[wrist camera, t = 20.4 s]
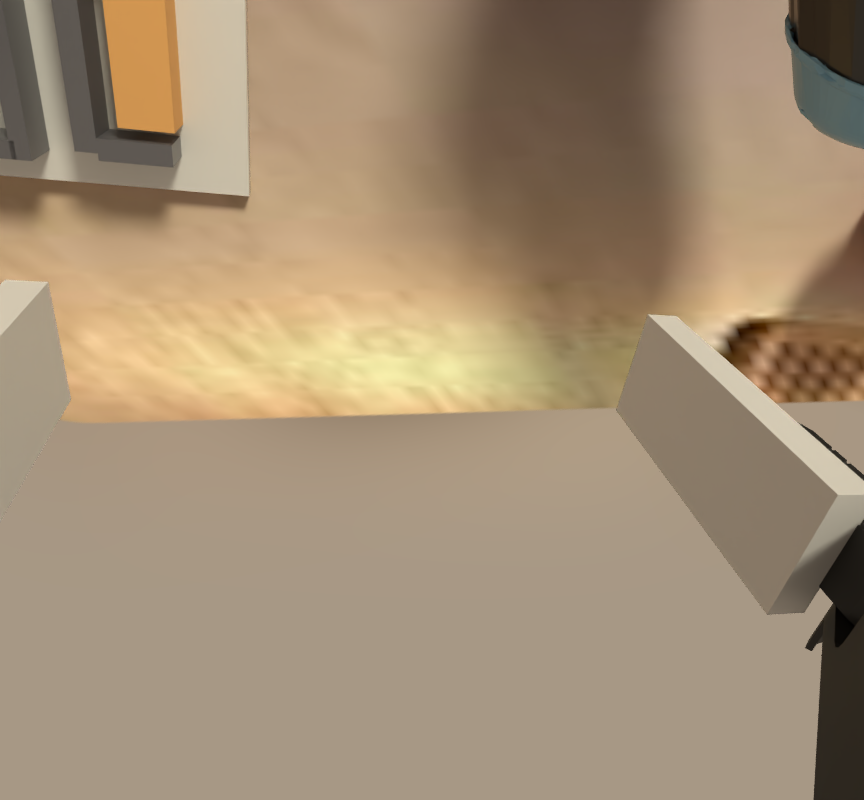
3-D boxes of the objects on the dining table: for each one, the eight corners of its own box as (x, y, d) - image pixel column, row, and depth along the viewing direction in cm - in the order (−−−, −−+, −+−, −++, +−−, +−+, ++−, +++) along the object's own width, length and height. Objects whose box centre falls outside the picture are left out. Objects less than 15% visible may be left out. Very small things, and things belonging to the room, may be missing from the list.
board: (-301, -210, 29) (-380, -236, 26) (244, -112, 34) (237, -123, 31) (-174, 156, 37) (-221, 172, 34) (250, 192, 42) (245, 209, 39)
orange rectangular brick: (112, -43, 34) (97, -46, 31) (172, -34, 35) (161, -36, 32) (130, 118, 38) (117, 127, 36) (183, 124, 39) (174, 133, 36)
